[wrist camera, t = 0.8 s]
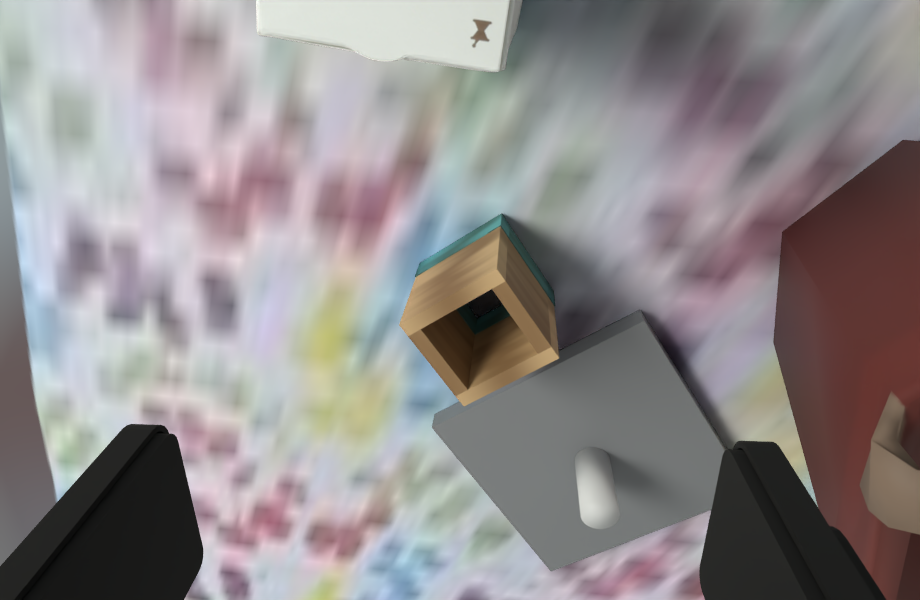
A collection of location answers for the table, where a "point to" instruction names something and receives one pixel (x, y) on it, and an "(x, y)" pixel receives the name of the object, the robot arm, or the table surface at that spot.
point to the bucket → (860, 361)
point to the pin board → (591, 445)
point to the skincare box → (400, 28)
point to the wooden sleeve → (492, 335)
